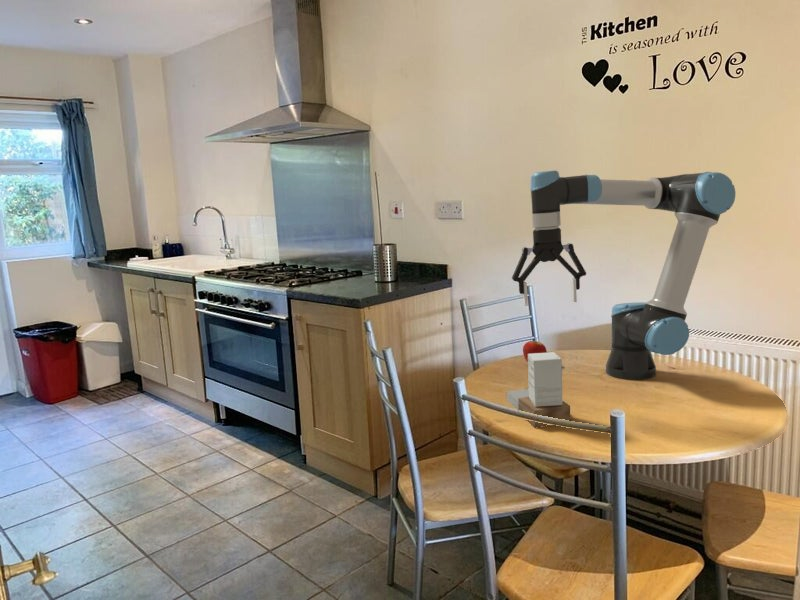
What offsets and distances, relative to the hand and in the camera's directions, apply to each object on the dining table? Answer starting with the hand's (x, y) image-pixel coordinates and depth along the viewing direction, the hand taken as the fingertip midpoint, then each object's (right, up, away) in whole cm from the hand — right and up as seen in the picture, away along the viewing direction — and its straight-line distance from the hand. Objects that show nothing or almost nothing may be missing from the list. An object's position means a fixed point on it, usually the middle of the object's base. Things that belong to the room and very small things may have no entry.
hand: (549, 303), depth 162 cm
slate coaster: (-6, -29, +2) cm, 30 cm away
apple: (+5, -22, +39) cm, 45 cm away
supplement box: (-4, -26, -10) cm, 29 cm away
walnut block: (-4, -31, -9) cm, 33 cm away
